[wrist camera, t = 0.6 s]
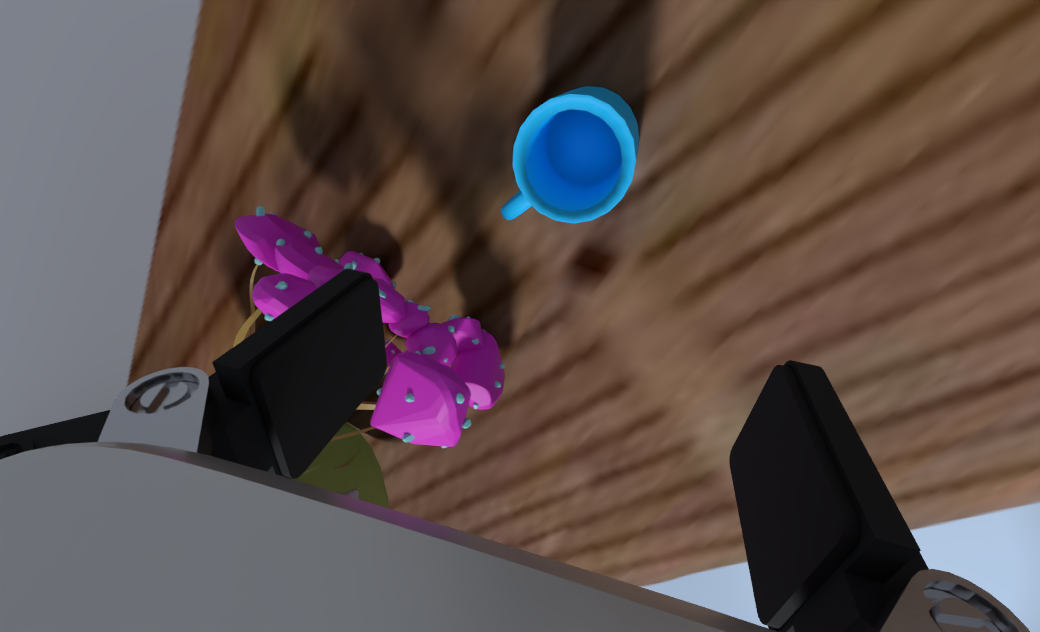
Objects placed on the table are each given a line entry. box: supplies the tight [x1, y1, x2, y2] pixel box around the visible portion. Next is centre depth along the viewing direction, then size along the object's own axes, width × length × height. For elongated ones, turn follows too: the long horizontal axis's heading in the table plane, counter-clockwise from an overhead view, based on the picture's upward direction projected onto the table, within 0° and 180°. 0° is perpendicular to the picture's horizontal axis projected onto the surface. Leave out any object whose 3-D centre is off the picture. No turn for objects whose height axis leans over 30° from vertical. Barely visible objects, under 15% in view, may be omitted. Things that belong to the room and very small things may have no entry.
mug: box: [501, 86, 639, 223], centre depth 33 cm, size 12×8×8 cm
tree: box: [233, 206, 505, 509], centre depth 44 cm, size 30×28×35 cm
